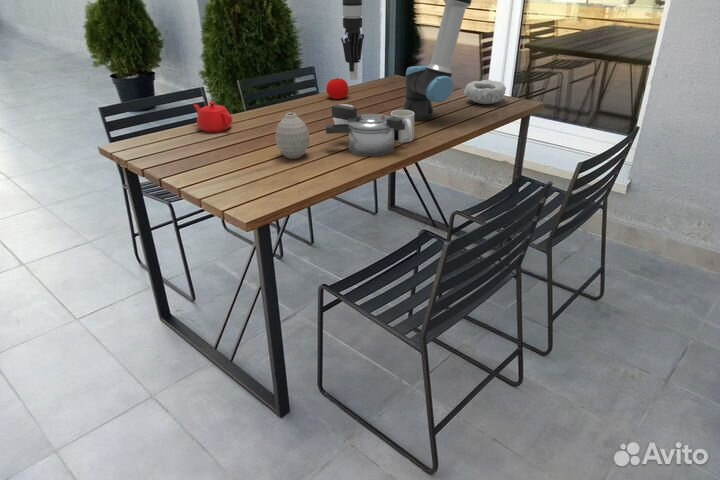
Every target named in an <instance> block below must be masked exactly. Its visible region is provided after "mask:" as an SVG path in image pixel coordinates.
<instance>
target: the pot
mask: <svg viewBox="0 0 720 480" xmlns="http://www.w3.org/2000/svg"><path fill="white" fill-rule="evenodd" d="M394 130H405V123H404V122H403V121H402V127H401V128H399V129H395V128H388V129H384V130H376V131H365V130H357V129H353V128H351V127H349V126H348V124H337V125H335V124H325V134H327V135H329V134H330V135H331V134H348V149H349V152H350V153H352V154H353V155H357V156H363V157H379V156H380V157H381V156H385V155H388V154H390V153H392V152H394V150H395V142H394Z"/></svg>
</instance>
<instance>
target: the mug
mask: <svg viewBox="0 0 720 480" xmlns="http://www.w3.org/2000/svg"><path fill="white" fill-rule="evenodd" d="M390 116H391V117H393V118H398V119H402V121H403V122H404V123H405V130H394V143H409V142H412V141H414V138H415V136H414V135H415V120H414V112H413V111H410V110H402V109H396V110H393V111H391V112H390Z"/></svg>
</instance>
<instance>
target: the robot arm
mask: <svg viewBox="0 0 720 480" xmlns="http://www.w3.org/2000/svg"><path fill="white" fill-rule="evenodd" d="M443 2H444V4H445V5H444V8H443V9H444V10H443V13H442V16H441V21H440V25H439V29H438V33H437V37H436V40H435V45H434V48H433V49H434V50H433V53H432V57H431V61H430V63H429V64H428V65H413V66H409V67H407V69H406V71H405V100H404V104H403V107H402V109H401V110H410V111H413V112H414V122H415V121H417V122H419V121H428V120H430V119H433V118H434V115H435V114H434V113H435V111H434V108H433V104H432V102H434V103H443V102H445V101H446V100H447V99H449V98H450V96H452V95H453V94H452V93H453V90H454V83H453V80H452V75H453V71H452V69H451V65H452V62H453V57H454V55H455V54H454V53H455V51H456V46H457V44H458V43H457V42H458V39H459V35H460V31H461V28H462V25H463V20H464V16H465V13H466V10H467V8H470V6H471V3H472V0H443ZM362 16H363V0H342V17H343V18H342V27H343V29H345V31H344V37H341V39H340V42H341V43H342V48H343V53H344V60H345V63H348V64H349V65H348V68H349V80H353V81H357V80H358V63H360V62H361V60H362V52H363V44H364V43H363V42H364V39H365V34H364V33H361V28H363V17H362Z"/></svg>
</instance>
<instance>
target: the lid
mask: <svg viewBox="0 0 720 480" xmlns="http://www.w3.org/2000/svg"><path fill="white" fill-rule="evenodd" d="M357 113H358V112H357V107H354V106H353V107H348V106H342V105H340V104H334V105H331V117H332V119H333V118H338V119H344V120H347V124H348V126H349V127H351V128H353V129H357V130H365V131H376V130H384V129H388V128H395V129H399V128H401V127H402V119H398V118H393V117H391V115H387V114H383V113H382V114H381V113H362V114H357Z"/></svg>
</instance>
